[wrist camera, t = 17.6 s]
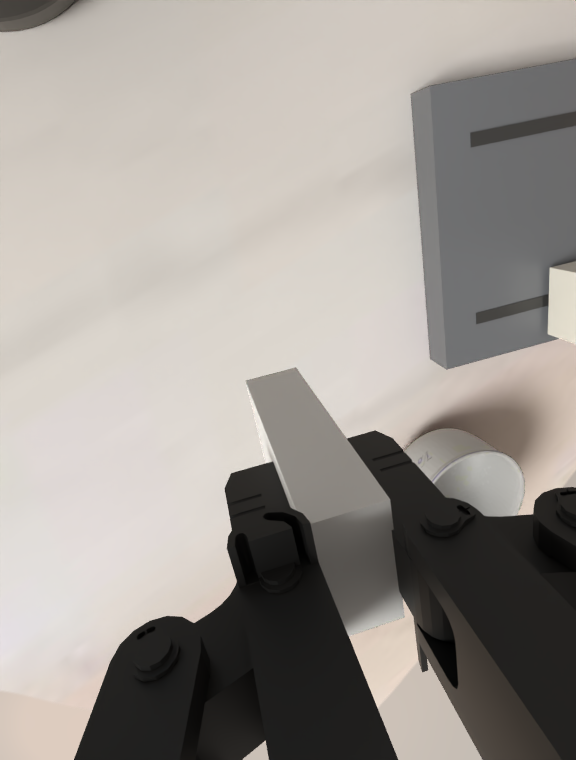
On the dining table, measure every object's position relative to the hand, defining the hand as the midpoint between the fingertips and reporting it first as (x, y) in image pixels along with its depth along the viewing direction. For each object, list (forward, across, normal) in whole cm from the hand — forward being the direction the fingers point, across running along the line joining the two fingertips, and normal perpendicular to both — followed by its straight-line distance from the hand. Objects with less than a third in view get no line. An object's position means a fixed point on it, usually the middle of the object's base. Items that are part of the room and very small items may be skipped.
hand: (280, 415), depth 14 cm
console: (+26, +30, -1) cm, 40 cm away
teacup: (+27, +17, -25) cm, 40 cm away
